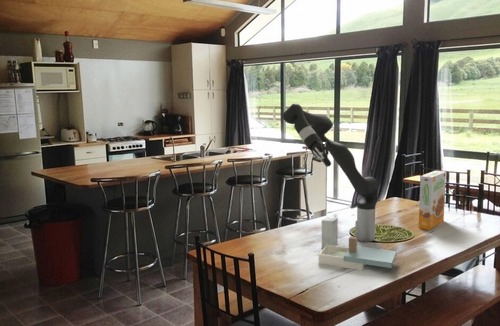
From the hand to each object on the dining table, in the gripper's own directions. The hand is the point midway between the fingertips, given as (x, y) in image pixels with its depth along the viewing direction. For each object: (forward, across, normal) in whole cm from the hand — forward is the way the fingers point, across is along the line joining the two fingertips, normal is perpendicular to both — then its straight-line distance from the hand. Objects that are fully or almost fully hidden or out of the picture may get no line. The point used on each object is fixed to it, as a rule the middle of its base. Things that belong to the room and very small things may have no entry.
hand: (329, 165), depth 212 cm
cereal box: (+36, +40, -76) cm, 93 cm away
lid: (+44, +14, -1) cm, 46 cm away
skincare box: (+26, +36, -1) cm, 45 cm away
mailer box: (+38, +23, +6) cm, 45 cm away
